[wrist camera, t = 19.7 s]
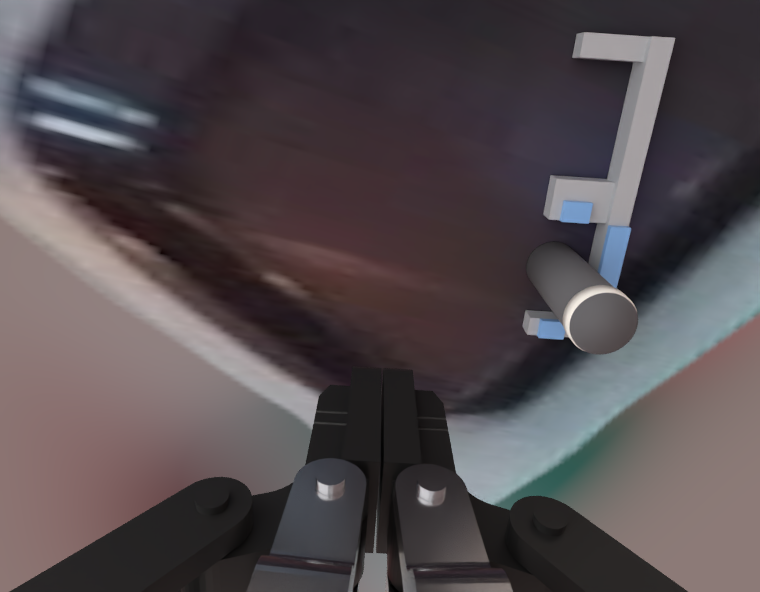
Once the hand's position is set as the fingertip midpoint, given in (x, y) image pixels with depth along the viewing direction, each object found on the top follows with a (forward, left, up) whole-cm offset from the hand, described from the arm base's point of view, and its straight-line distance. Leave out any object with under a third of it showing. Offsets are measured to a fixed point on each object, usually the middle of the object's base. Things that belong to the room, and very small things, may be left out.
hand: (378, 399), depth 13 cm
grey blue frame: (0, +15, -29) cm, 33 cm away
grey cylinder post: (+6, +14, -29) cm, 33 cm away
